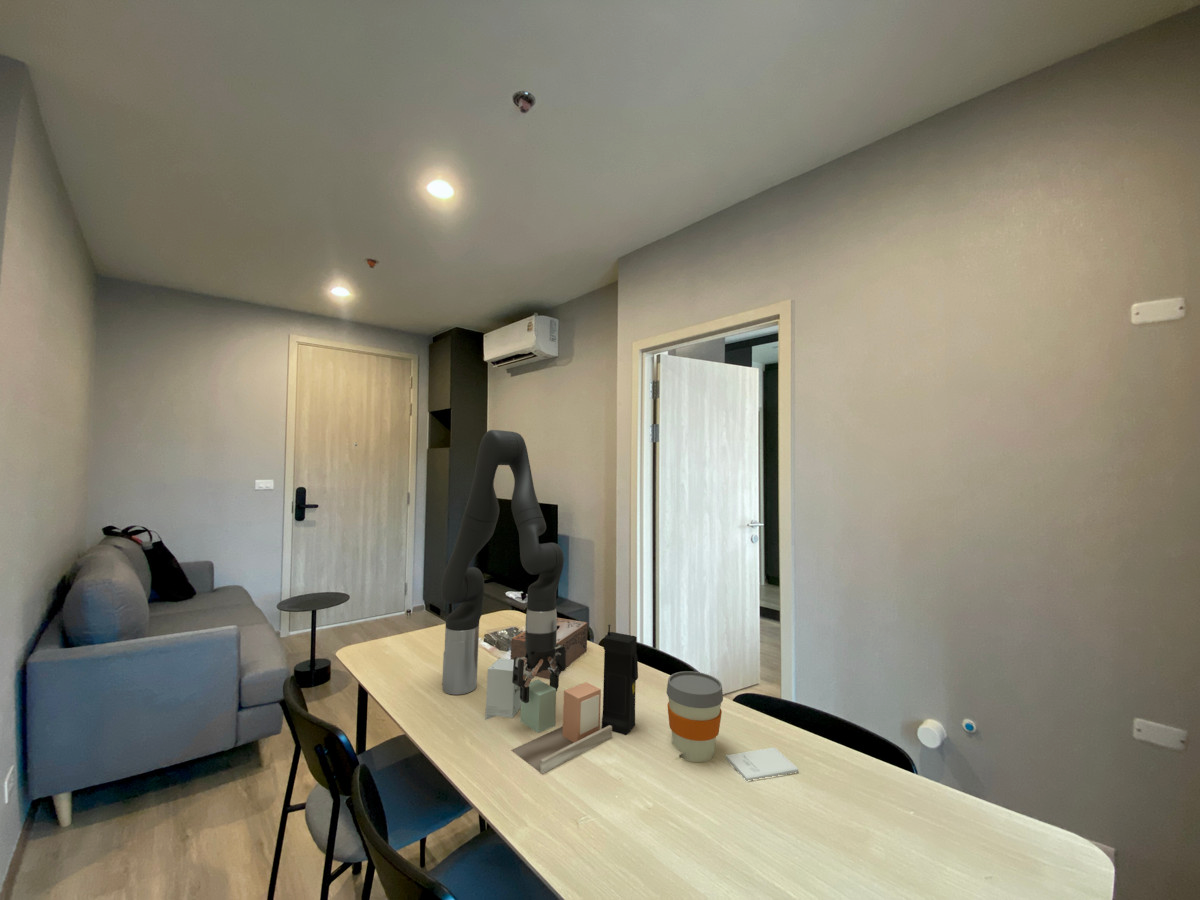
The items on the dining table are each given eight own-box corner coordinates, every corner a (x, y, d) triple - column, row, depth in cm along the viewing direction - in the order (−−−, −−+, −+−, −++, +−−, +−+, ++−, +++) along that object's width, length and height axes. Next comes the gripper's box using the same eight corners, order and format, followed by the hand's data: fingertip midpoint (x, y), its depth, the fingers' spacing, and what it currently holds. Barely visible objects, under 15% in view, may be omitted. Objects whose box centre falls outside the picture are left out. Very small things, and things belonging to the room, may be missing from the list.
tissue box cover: (551, 680, 142) (552, 646, 142) (510, 671, 147) (511, 638, 148) (586, 651, 165) (587, 622, 166) (550, 644, 171) (551, 616, 171)
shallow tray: (510, 757, 103) (511, 738, 103) (579, 724, 117) (579, 708, 117) (542, 781, 95) (542, 761, 95) (611, 743, 109) (612, 726, 109)
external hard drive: (798, 776, 100) (746, 785, 97) (773, 753, 108) (725, 761, 105) (798, 768, 100) (746, 777, 97) (773, 746, 108) (725, 753, 105)
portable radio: (640, 730, 115) (642, 625, 116) (630, 743, 109) (633, 632, 111) (610, 722, 118) (613, 620, 119) (599, 734, 113) (603, 627, 114)
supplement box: (512, 724, 116) (514, 671, 117) (484, 720, 117) (486, 668, 118) (523, 710, 123) (525, 660, 124) (496, 706, 125) (498, 657, 125)
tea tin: (537, 739, 110) (539, 695, 110) (520, 727, 115) (521, 685, 115) (555, 731, 113) (556, 688, 114) (537, 720, 118) (539, 679, 119)
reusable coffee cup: (711, 774, 99) (712, 700, 99) (656, 754, 105) (657, 685, 106) (729, 746, 109) (730, 679, 110) (678, 729, 116) (679, 666, 117)
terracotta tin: (562, 735, 109) (563, 690, 110) (584, 724, 114) (586, 682, 114) (577, 745, 105) (579, 698, 106) (600, 733, 110) (601, 689, 111)
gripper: (554, 618, 123) (552, 682, 122) (507, 629, 113) (505, 700, 112) (573, 624, 117) (572, 692, 116) (526, 637, 107) (524, 711, 106)
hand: (539, 696), depth 114 cm, fingers open, 8 cm apart
